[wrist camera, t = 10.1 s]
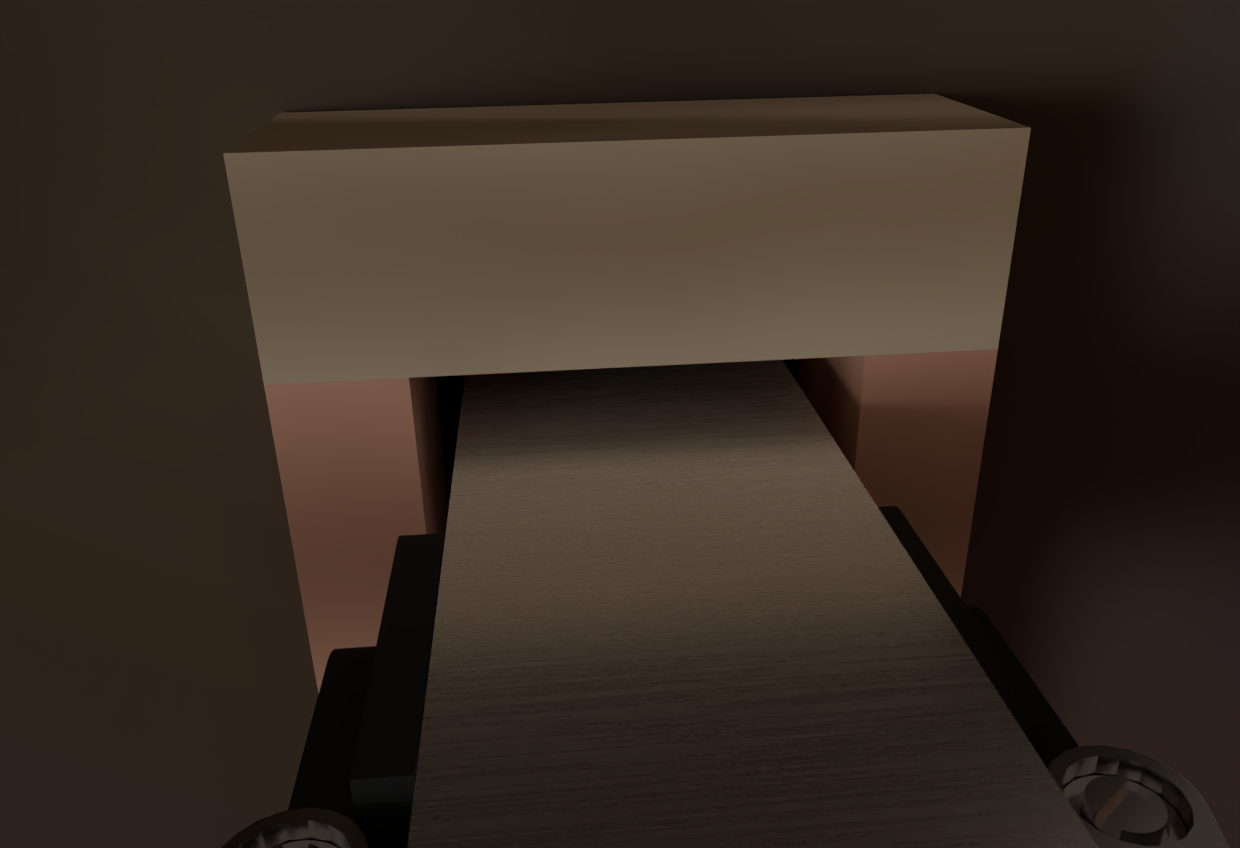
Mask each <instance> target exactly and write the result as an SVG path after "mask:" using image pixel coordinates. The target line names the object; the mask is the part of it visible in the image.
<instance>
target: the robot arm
mask: <svg viewBox="0 0 1240 848" xmlns="http://www.w3.org/2000/svg"><path fill="white" fill-rule="evenodd" d="M878 508H879V510H880V511H881V513H882V514H883V516H884V518H885V519H886V521H887V522H888V524H889V525H890V527H891V528H892V530H893V531H894V533H895V535H896V536H897V538H898V539H899V541H900V542H901V544H902V545H903V547H904V548H905V550H906V552H907V553H908V555H909V556H910V558H911V559H912V561H913V562H914V564H915V565H916V567H917V568H918V570H919V572H920V573H921V575H922V576H923V578H924V579H925V581H926V582H927V584H928V585H929V587H930V589H931V590H932V592H933V593H934V595H935V596H936V598H937V599H938V601H939V602H940V604H941V606H942V607H943V609H944V610H945V612H946V613H947V615H948V616H949V618H950V619H951V621H952V622H953V624H954V626H955V627H956V629H957V630H958V632H959V633H960V635H961V636H962V638H963V639H964V641H965V643H966V644H967V646H968V647H969V649H970V650H971V652H972V653H973V655H974V656H975V658H976V660H977V661H978V663H979V664H980V666H981V667H982V669H983V670H984V672H985V673H986V675H987V677H988V678H989V680H990V681H991V683H992V684H993V686H994V687H995V689H996V690H997V692H998V693H999V695H1000V697H1001V698H1002V700H1003V701H1004V703H1005V704H1006V706H1007V707H1008V709H1009V710H1010V712H1011V714H1012V715H1013V717H1014V718H1015V720H1016V721H1017V723H1018V724H1019V726H1020V727H1021V729H1022V731H1023V732H1024V734H1025V735H1026V737H1027V738H1028V740H1029V741H1030V743H1031V744H1032V746H1033V747H1034V749H1035V751H1036V752H1037V754H1038V755H1039V757H1040V758H1041V760H1042V761H1043V763H1044V764H1045V766H1046V768H1047V769H1048V771H1049V772H1050V774H1051V775H1052V777H1053V778H1054V780H1055V781H1056V783H1057V785H1058V786H1059V788H1060V789H1061V791H1062V792H1063V794H1064V795H1065V797H1066V798H1067V800H1068V802H1069V803H1070V805H1071V806H1072V808H1073V809H1074V811H1075V812H1076V814H1077V815H1078V817H1079V818H1080V820H1081V822H1082V823H1083V825H1084V826H1085V828H1086V829H1087V831H1088V832H1089V834H1090V835H1091V837H1092V839H1093V840H1094V842H1095V843H1096V845H1097V846H1098V848H1229V847H1228V845H1227V843H1226V841H1225V839H1224V837H1223V835H1222V833H1221V831H1220V829H1219V827H1218V825H1217V823H1216V821H1215V819H1214V817H1213V815H1212V813H1211V811H1210V809H1209V807H1208V805H1207V804H1206V802H1205V801H1204V799H1203V798H1202V797H1201V795H1200V794H1199V792H1198V791H1197V790H1196V788H1195V787H1194V786H1193V785H1191V784H1190V783H1189V782H1188V781H1187V780H1186V779H1184V778H1183V777H1182V776H1181V775H1180V774H1179V773H1178V772H1176V771H1175V770H1173V769H1171V768H1169V767H1168V766H1166V765H1164V764H1162V763H1161V762H1159V761H1157V760H1155V759H1154V758H1151V757H1148V756H1145V755H1143V754H1140V753H1137V752H1134V751H1132V750H1129V749H1123V748H1117V747H1112V746H1106V745H1097V746H1081V747H1079V746H1078V744H1077V743H1076V742H1075V740H1074V739H1073V737H1072V736H1071V734H1070V733H1069V732H1068V730H1067V729H1066V727H1065V726H1064V725H1063V723H1062V722H1061V720H1060V719H1059V717H1058V716H1057V715H1056V713H1055V712H1054V710H1053V709H1052V707H1051V706H1050V705H1049V703H1048V702H1047V700H1046V699H1045V698H1044V696H1043V695H1042V693H1041V692H1040V690H1039V689H1038V688H1037V686H1036V685H1035V683H1034V682H1033V681H1032V679H1031V678H1030V676H1029V675H1028V673H1027V672H1026V671H1025V669H1024V668H1023V666H1022V665H1021V663H1020V662H1019V661H1018V659H1017V658H1016V656H1015V655H1014V654H1013V652H1012V651H1011V649H1010V648H1009V646H1008V645H1007V644H1006V642H1005V641H1004V639H1003V638H1002V636H1001V635H1000V634H999V632H998V631H997V629H996V628H995V627H994V625H993V624H992V622H991V621H990V619H989V618H988V617H987V615H986V614H985V613H984V612H983V611H982V610H981V609H980V608H979V607H976V606H973V605H969V606H966V605H965V604H964V602H963V601H962V599H961V598H960V596H959V595H958V593H957V592H956V591H955V589H954V588H953V586H952V585H951V583H950V582H949V580H948V579H947V577H946V576H945V574H944V573H943V572H942V570H941V569H940V567H939V566H938V564H937V563H936V561H935V560H934V558H933V557H932V555H931V554H930V552H929V551H928V550H927V548H926V547H925V545H924V544H923V542H922V541H921V539H920V538H919V536H918V535H917V533H916V532H915V531H914V529H913V528H912V526H911V525H910V523H909V522H908V520H907V519H906V517H905V516H904V514H903V513H902V511H901V510H900V509H899V508H898V507H897V506H882V507H878ZM444 543H445V533H436V534H420V535H403V536H399V537H398V540H397V545H396V550H395V555H394V560H393V565H392V570H391V575H390V580H389V585H388V590H387V594H386V599H385V604H384V609H383V614H382V619H381V624H380V629H379V634H378V639H377V644H376V646H370V647H355V648H341V649H334V650H333V651H331V653H330V656H329V658H328V661H327V665H326V668H325V672H324V676H323V680H322V684H321V687H320V691H319V695H318V699H317V702H316V706H315V710H314V714H313V718H312V721H311V725H310V729H309V733H308V736H307V740H306V744H305V748H304V751H303V755H302V759H301V763H300V767H299V770H298V774H297V778H296V782H295V785H294V789H293V793H292V797H291V801H290V804H289V808H288V810H287V811H282V812H280V813H277V814H274V815H271V816H268V817H265V818H263V819H260V820H258V821H256V822H255V823H253V824H251V825H250V826H248V827H246V828H245V829H243V830H241V831H240V832H238V833H237V834H236V835H234V836H233V837H232V838H231V839H230V840H229V841H228V842H227V843H226V844H225V845H224V846H223V847H222V848H407V846H408V838H409V830H410V821H411V813H412V805H413V797H414V789H415V780H416V772H417V764H418V756H419V748H420V739H421V731H422V723H423V715H424V707H425V698H426V690H427V682H428V674H429V666H430V657H431V649H432V641H433V633H434V625H435V616H436V608H437V600H438V592H439V584H440V575H441V567H442V559H443V551H444Z"/></svg>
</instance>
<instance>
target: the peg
mask: <svg viewBox="0 0 1240 848" xmlns="http://www.w3.org/2000/svg"><path fill="white" fill-rule="evenodd" d="M407 848H1098V846H1097V845H1096V843H1095V842H1094V840H1093V839H1092V837H1091V835H1090V834H1089V832H1088V831H1087V829H1086V828H1085V826H1084V825H1083V823H1082V822H1081V820H1080V818H1079V817H1078V815H1077V814H1076V812H1075V811H1074V809H1073V808H1072V806H1071V805H1070V803H1069V802H1068V800H1067V798H1066V797H1065V795H1064V794H1063V792H1062V791H1061V789H1060V788H1059V786H1058V785H1057V783H1056V781H1055V780H1054V778H1053V777H1052V775H1051V774H1050V772H1049V771H1048V769H1047V768H1046V766H1045V764H1044V763H1043V761H1042V760H1041V758H1040V757H1039V755H1038V754H1037V752H1036V751H1035V749H1034V747H1033V746H1032V744H1031V743H1030V741H1029V740H1028V738H1027V737H1026V735H1025V734H1024V732H1023V731H1022V729H1021V727H1020V726H1019V724H1018V723H1017V721H1016V720H1015V718H1014V717H1013V715H1012V714H1011V712H1010V710H1009V709H1008V707H1007V706H1006V704H1005V703H1004V701H1003V700H1002V698H1001V697H1000V695H999V693H998V692H997V690H996V689H995V687H994V686H993V684H992V683H991V681H990V680H989V678H988V677H987V675H986V673H985V672H984V670H983V669H982V667H981V666H980V664H979V663H978V661H977V660H976V658H975V656H974V655H973V653H972V652H971V650H970V649H969V647H968V646H967V644H966V643H965V641H964V639H963V638H962V636H961V635H960V633H959V632H958V630H957V629H956V627H955V626H954V624H953V622H952V621H951V619H950V618H949V616H948V615H947V613H946V612H945V610H944V609H943V607H942V606H941V604H940V602H939V601H938V599H937V598H936V596H935V595H934V593H933V592H932V590H931V589H930V587H929V585H928V584H927V582H926V581H925V579H924V578H923V576H922V575H921V573H920V572H919V570H918V568H917V567H916V565H915V564H914V562H913V561H912V559H911V558H910V556H909V555H908V553H907V552H906V550H905V548H904V547H903V545H902V544H901V542H900V541H899V539H898V538H897V536H896V535H895V533H894V531H893V530H892V528H891V527H890V525H889V524H888V522H887V521H886V519H885V518H884V516H883V514H882V513H881V511H880V510H879V508H878V507H877V505H876V504H875V502H874V501H873V499H872V498H871V496H870V494H869V493H868V491H867V490H866V488H865V487H864V485H863V484H862V482H861V481H860V479H859V477H858V476H857V474H856V473H855V471H854V470H853V468H852V467H851V465H850V464H849V462H848V460H847V459H846V457H845V456H844V454H843V453H842V451H841V450H840V448H839V447H838V445H837V443H836V442H835V440H834V439H833V437H832V436H831V434H830V433H829V431H828V430H827V428H826V427H825V425H824V423H823V422H822V420H821V419H820V417H819V416H818V414H817V413H816V411H815V410H814V408H813V406H812V405H811V403H810V402H809V400H808V399H807V397H806V396H805V394H804V393H803V391H802V389H801V388H800V386H799V385H798V383H797V382H796V380H795V379H794V377H793V376H792V374H791V373H790V371H789V369H788V368H787V366H786V365H785V363H784V362H783V360H764V361H743V362H722V363H702V364H681V365H660V366H640V367H619V368H599V369H578V370H557V371H537V372H516V373H495V374H475V375H465V379H464V387H463V395H462V403H461V411H460V420H459V428H458V436H457V444H456V452H455V461H454V469H453V477H452V485H451V493H450V502H449V510H448V518H447V526H446V534H445V543H444V551H443V559H442V567H441V575H440V584H439V592H438V600H437V608H436V616H435V625H434V633H433V641H432V649H431V657H430V666H429V674H428V682H427V690H426V698H425V707H424V715H423V723H422V731H421V739H420V748H419V756H418V764H417V772H416V780H415V789H414V797H413V805H412V813H411V821H410V830H409V838H408V846H407Z"/></svg>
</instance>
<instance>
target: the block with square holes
mask: <svg viewBox="0 0 1240 848" xmlns="http://www.w3.org/2000/svg"><path fill="white" fill-rule="evenodd" d="M1030 131H1031V127H1028V126H1025V125H1022V124H1019V123H1016V122H1014V121H1011V120H1008V119H1005V118H1002V117H999V116H997V115H994V114H991V113H988V112H985V111H982V110H980V109H977V108H974V107H971V106H968V105H965V104H963V103H960V102H957V101H954V100H951V99H948V98H946V97H943V96H940V95H937V94H905V95H870V96H836V97H802V98H767V99H733V100H699V101H664V102H630V103H595V104H561V105H527V106H492V107H458V108H424V109H389V110H355V111H320V112H286V113H280V114H279V115H277V116H276V117H274V118H273V119H272V120H270V121H269V122H267V123H266V124H264V125H263V126H262V127H260V128H259V129H257V130H256V131H254V132H253V133H252V134H250V135H249V136H247V137H246V138H244V139H243V140H242V141H240V142H239V143H237V144H236V145H234V146H233V147H232V148H230V149H229V150H227V151H226V152H225V153H223V155H224V160H225V166H226V172H227V177H228V183H229V189H230V194H231V200H232V206H233V211H234V217H235V223H236V228H237V234H238V240H239V245H240V251H241V257H242V262H243V268H244V274H245V279H246V285H247V291H248V296H249V302H250V308H251V313H252V319H253V325H254V330H255V336H256V342H257V347H258V353H259V359H260V364H261V370H262V376H263V381H264V387H265V393H266V398H267V404H268V410H269V415H270V421H271V427H272V432H273V438H274V444H275V449H276V455H277V461H278V466H279V472H280V478H281V483H282V489H283V495H284V500H285V506H286V512H287V517H288V523H289V529H290V534H291V540H292V546H293V551H294V557H295V563H296V568H297V574H298V580H299V585H300V591H301V597H302V602H303V608H304V614H305V619H306V625H307V631H308V636H309V642H310V648H311V653H312V659H313V665H314V670H315V676H316V682H317V687H318V693H319V691H320V687H321V684H322V680H323V676H324V672H325V668H326V665H327V661H328V658H329V656H330V653H331V651H333V650H334V649H341V648H355V647H370V646H376V644H377V639H378V634H379V629H380V624H381V619H382V614H383V609H384V604H385V599H386V594H387V590H388V585H389V580H390V575H391V570H392V565H393V560H394V555H395V550H396V545H397V540H398V537H399V536H403V535H420V534H436V533H445V534H446V526H447V518H448V510H449V502H448V491H447V481H446V471H445V461H444V451H443V441H442V431H441V421H440V411H439V401H438V391H437V381H436V376H454V375H475V374H495V373H516V372H537V371H557V370H578V369H599V368H619V367H640V366H660V365H681V364H702V363H722V362H743V361H764V360H784V359H800V360H799V376H798V385H799V386H800V388H801V389H802V391H803V393H804V394H805V396H806V397H807V399H808V400H809V402H810V403H811V405H812V406H813V408H814V410H815V411H816V413H817V414H818V416H819V417H820V419H821V420H822V422H823V423H824V425H825V427H826V428H827V430H828V431H829V433H830V434H831V436H832V437H833V439H834V440H835V442H836V443H837V445H838V447H839V448H840V450H841V451H842V453H843V454H844V456H845V457H846V459H847V460H848V462H849V464H850V465H851V467H852V468H853V470H854V471H855V473H856V474H857V476H858V477H859V479H860V481H861V482H862V484H863V485H864V487H865V488H866V490H867V491H868V493H869V494H870V496H871V498H872V499H873V501H874V502H875V504H876V505H877V507H882V506H897V507H898V508H899V509H900V510H901V511H902V513H903V514H904V516H905V517H906V519H907V520H908V522H909V523H910V525H911V526H912V528H913V529H914V531H915V532H916V533H917V535H918V536H919V538H920V539H921V541H922V542H923V544H924V545H925V547H926V548H927V550H928V551H929V552H930V554H931V555H932V557H933V558H934V560H935V561H936V563H937V564H938V566H939V567H940V569H941V570H942V572H943V573H944V574H945V576H946V577H947V579H948V580H949V582H950V583H951V585H952V586H953V588H954V589H955V591H956V592H957V593H958V595H959V596H960V598H961V592H962V586H963V579H964V572H965V566H966V559H967V552H968V546H969V539H970V532H971V525H972V519H973V512H974V505H975V499H976V492H977V485H978V479H979V472H980V465H981V459H982V452H983V445H984V439H985V432H986V425H987V418H988V412H989V405H990V398H991V392H992V385H993V378H994V372H995V365H996V358H997V352H998V345H999V338H1000V332H1001V325H1002V318H1003V311H1004V305H1005V298H1006V291H1007V285H1008V278H1009V271H1010V265H1011V258H1012V251H1013V245H1014V238H1015V231H1016V225H1017V218H1018V211H1019V204H1020V198H1021V191H1022V184H1023V178H1024V171H1025V164H1026V158H1027V151H1028V144H1029V138H1030Z"/></svg>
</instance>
